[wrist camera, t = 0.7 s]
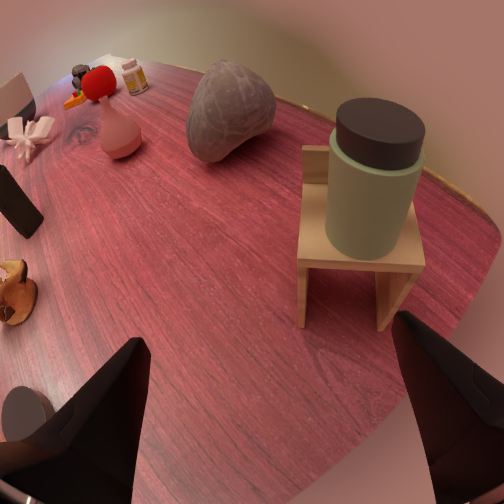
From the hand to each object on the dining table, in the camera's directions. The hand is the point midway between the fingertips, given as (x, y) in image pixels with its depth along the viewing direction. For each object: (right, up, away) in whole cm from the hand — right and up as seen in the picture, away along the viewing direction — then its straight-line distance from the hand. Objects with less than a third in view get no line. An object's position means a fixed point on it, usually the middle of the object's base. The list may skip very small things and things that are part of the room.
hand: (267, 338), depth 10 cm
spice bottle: (+6, +4, +8) cm, 11 cm away
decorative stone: (-2, +18, +34) cm, 39 cm away
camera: (-66, +67, +79) cm, 122 cm away
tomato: (-44, +49, +63) cm, 91 cm away
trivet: (-26, -17, +13) cm, 33 cm away
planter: (-85, +47, +68) cm, 118 cm away
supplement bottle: (-31, +46, +59) cm, 81 cm away
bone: (-34, -4, +23) cm, 41 cm away
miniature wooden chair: (+8, -1, +18) cm, 20 cm away
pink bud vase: (-23, +21, +39) cm, 50 cm away
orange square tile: (-58, +53, +68) cm, 105 cm away
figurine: (-59, +30, +52) cm, 85 cm away
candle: (-40, +7, +33) cm, 52 cm away
